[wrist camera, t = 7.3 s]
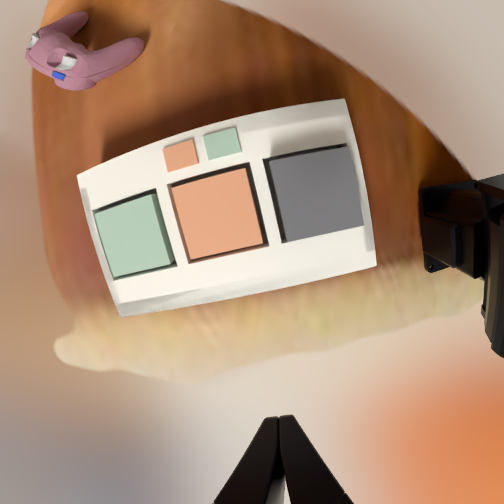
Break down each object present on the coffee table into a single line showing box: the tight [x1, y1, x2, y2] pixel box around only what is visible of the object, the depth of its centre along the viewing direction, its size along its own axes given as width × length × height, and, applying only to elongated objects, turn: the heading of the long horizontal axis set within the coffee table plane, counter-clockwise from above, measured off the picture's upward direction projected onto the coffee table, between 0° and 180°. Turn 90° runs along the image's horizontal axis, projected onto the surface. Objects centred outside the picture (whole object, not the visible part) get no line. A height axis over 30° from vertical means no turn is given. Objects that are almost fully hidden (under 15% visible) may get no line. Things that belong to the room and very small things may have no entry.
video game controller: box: [25, 11, 144, 90], centre depth 13 cm, size 10×5×7 cm, turn 50°
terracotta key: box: [172, 168, 263, 259], centre depth 16 cm, size 4×4×2 cm
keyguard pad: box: [77, 99, 377, 317], centre depth 17 cm, size 17×10×3 cm, turn 103°
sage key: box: [95, 193, 175, 277], centre depth 17 cm, size 4×4×2 cm
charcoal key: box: [269, 147, 364, 242], centre depth 15 cm, size 4×4×2 cm
